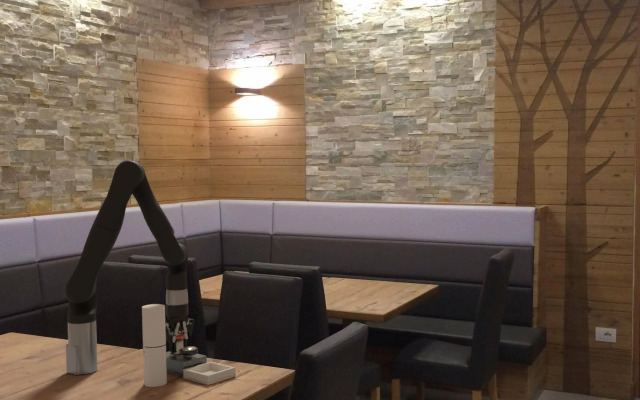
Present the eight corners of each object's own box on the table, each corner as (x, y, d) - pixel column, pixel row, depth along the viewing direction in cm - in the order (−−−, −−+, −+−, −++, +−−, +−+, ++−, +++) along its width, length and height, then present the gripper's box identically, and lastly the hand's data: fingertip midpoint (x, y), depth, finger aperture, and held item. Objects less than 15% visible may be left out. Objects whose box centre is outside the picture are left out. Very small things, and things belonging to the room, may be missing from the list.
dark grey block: (183, 377, 243) (183, 352, 242) (155, 369, 252) (154, 345, 252) (206, 370, 250) (206, 346, 250) (178, 363, 260) (177, 340, 259)
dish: (208, 385, 234) (208, 375, 233) (183, 378, 241) (183, 369, 241) (235, 376, 243) (235, 367, 243) (211, 370, 250) (210, 361, 250)
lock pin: (177, 369, 251) (177, 337, 251) (169, 367, 254) (168, 335, 253) (187, 367, 255) (187, 335, 254) (179, 365, 257) (178, 333, 257)
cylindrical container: (155, 388, 231) (153, 309, 230) (139, 384, 235) (137, 307, 234) (171, 382, 237) (169, 305, 236) (155, 379, 241) (153, 303, 240)
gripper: (186, 297, 261) (187, 345, 262) (153, 304, 250) (154, 353, 251) (200, 300, 256) (201, 348, 257) (167, 306, 245) (168, 357, 246)
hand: (178, 350), depth 254 cm, fingers closed on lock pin, 4 cm apart
